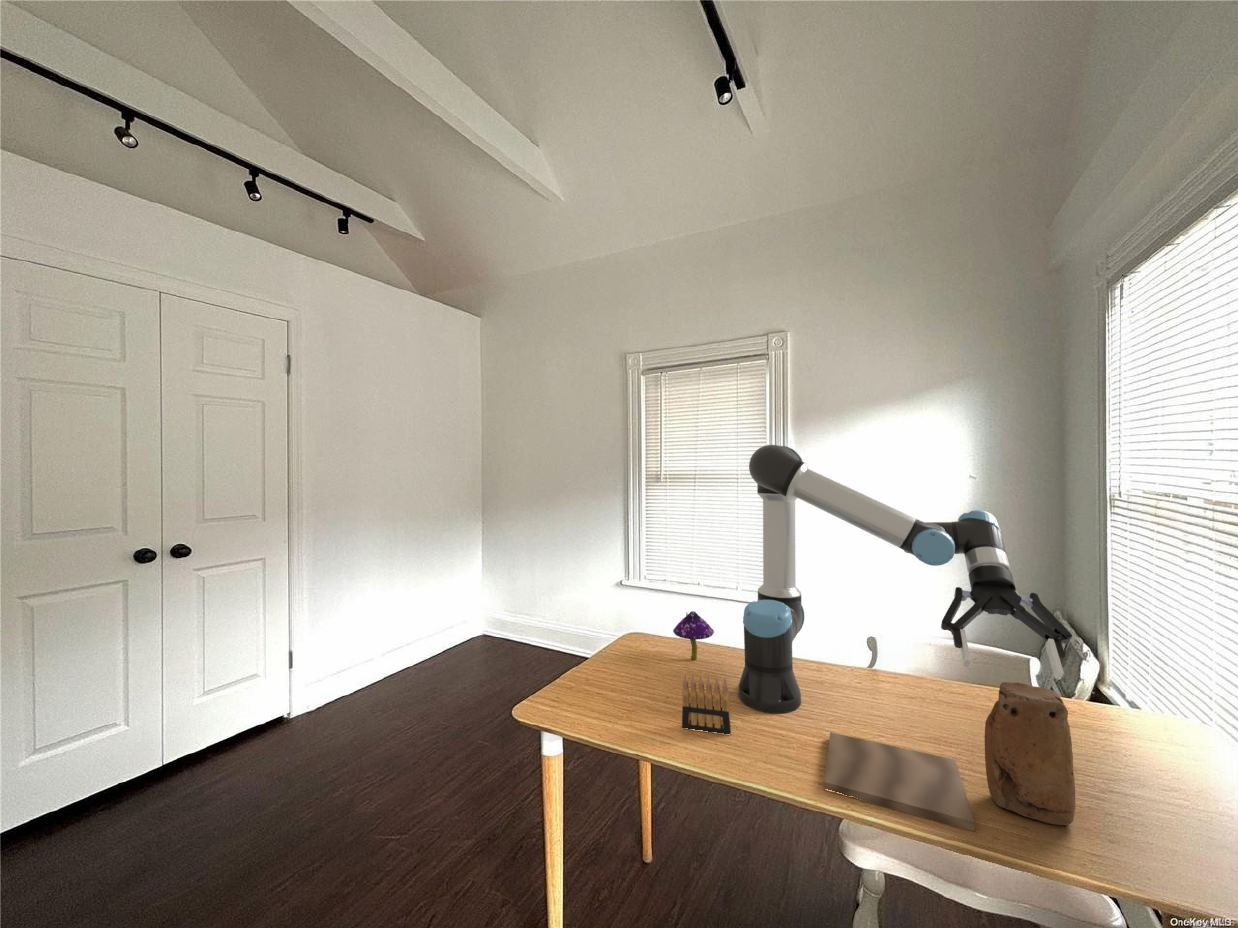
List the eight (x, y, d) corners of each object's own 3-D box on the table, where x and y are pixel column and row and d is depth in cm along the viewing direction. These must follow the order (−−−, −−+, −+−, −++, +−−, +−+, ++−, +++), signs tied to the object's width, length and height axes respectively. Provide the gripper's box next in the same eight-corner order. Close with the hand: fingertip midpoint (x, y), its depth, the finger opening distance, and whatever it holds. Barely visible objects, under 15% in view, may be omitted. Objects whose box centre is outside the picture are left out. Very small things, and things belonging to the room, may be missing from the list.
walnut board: (823, 790, 85) (823, 781, 85) (830, 738, 100) (830, 731, 100) (974, 831, 74) (974, 821, 74) (955, 767, 90) (955, 759, 90)
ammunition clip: (681, 728, 106) (680, 675, 106) (683, 724, 107) (681, 671, 108) (730, 735, 103) (729, 680, 103) (730, 731, 104) (729, 676, 105)
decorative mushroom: (670, 653, 150) (669, 606, 150) (708, 651, 151) (707, 604, 151) (677, 669, 137) (676, 618, 137) (719, 667, 138) (718, 616, 138)
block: (1061, 804, 80) (1057, 686, 80) (1081, 835, 73) (1076, 706, 74) (983, 786, 85) (979, 675, 85) (994, 813, 78) (990, 692, 78)
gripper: (1061, 588, 98) (1096, 690, 85) (920, 578, 110) (931, 667, 96) (1070, 567, 94) (1108, 672, 80) (922, 559, 105) (933, 650, 91)
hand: (1011, 669), depth 88 cm, fingers open, 13 cm apart
